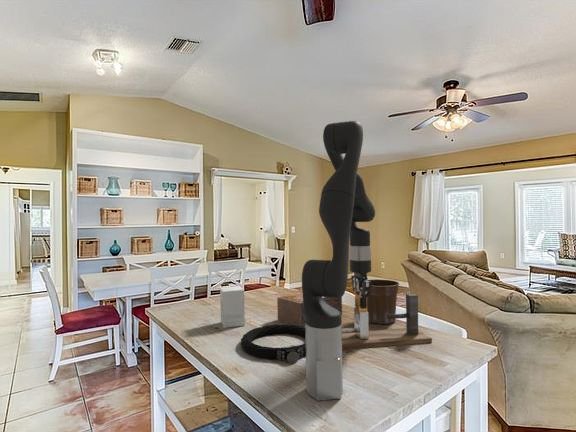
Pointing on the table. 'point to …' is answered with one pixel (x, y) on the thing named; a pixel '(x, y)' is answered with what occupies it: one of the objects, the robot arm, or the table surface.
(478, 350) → the table surface
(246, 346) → the cable lock
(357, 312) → the end link
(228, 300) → the supplement box
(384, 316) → the plant pot
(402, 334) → the board
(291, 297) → the tissue box cover
